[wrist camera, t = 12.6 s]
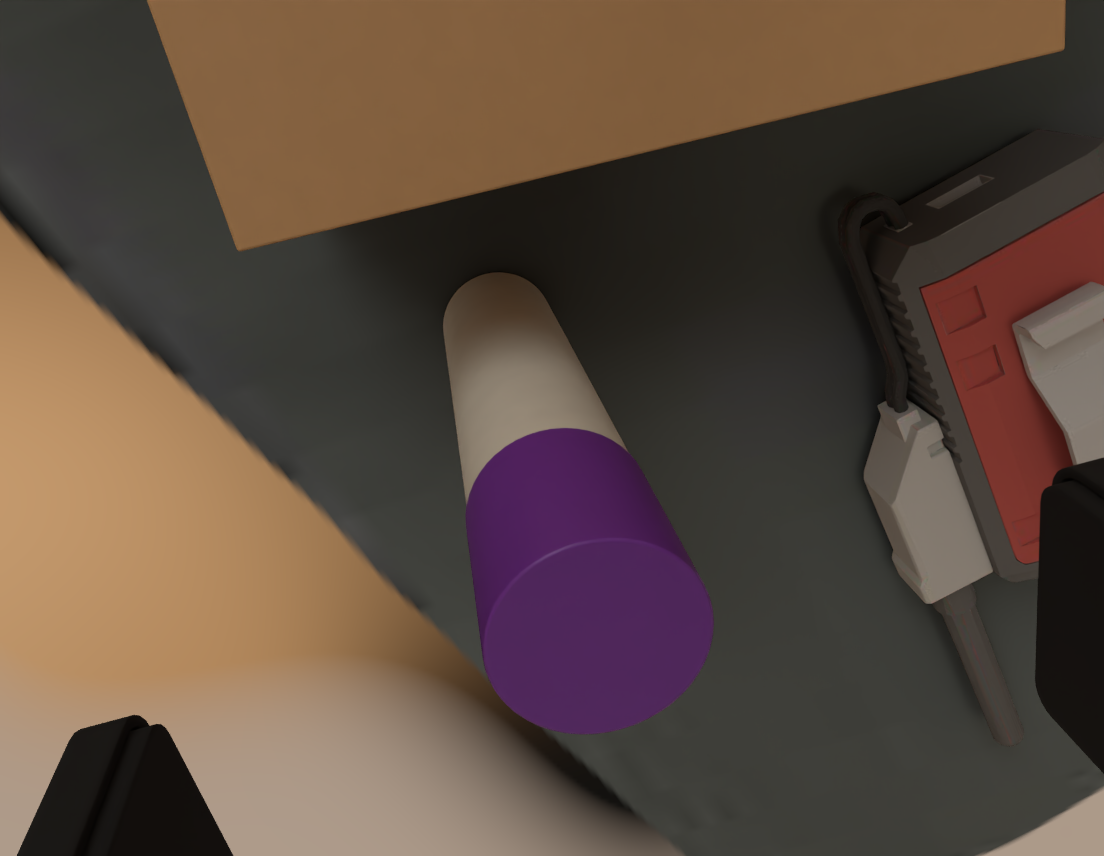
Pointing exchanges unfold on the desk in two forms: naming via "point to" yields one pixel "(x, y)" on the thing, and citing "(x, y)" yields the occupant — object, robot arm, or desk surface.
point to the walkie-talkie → (983, 371)
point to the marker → (563, 527)
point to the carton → (529, 86)
